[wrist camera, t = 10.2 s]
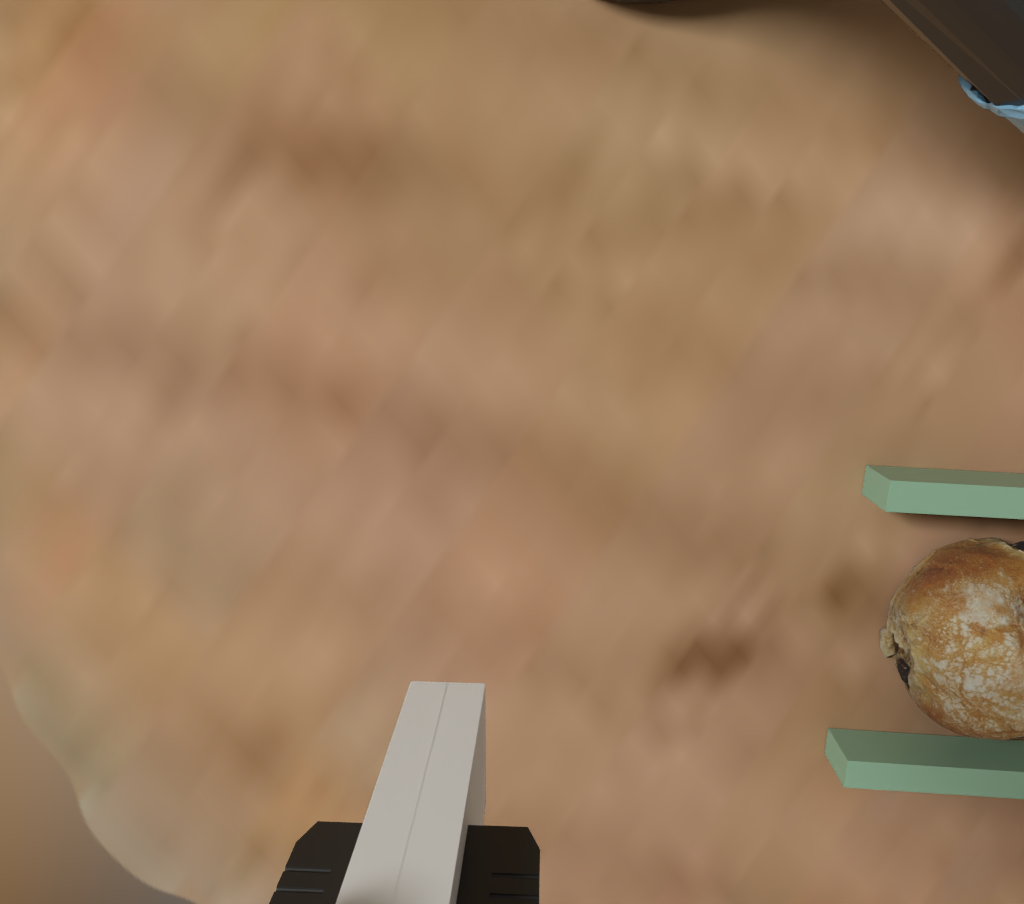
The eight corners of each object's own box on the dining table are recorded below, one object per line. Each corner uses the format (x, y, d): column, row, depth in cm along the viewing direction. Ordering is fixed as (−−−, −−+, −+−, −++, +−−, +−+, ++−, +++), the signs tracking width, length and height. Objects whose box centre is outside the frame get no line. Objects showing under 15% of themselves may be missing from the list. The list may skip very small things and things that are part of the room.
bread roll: (854, 545, 46) (842, 628, 40) (1063, 486, 41) (1089, 572, 34) (928, 688, 48) (928, 791, 41) (1138, 651, 42) (1177, 762, 36)
